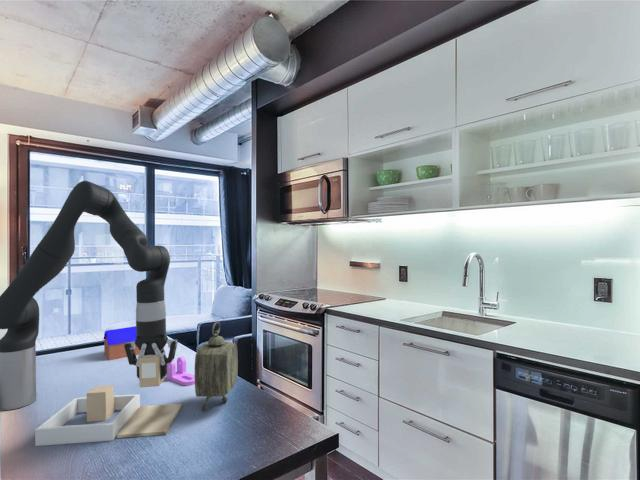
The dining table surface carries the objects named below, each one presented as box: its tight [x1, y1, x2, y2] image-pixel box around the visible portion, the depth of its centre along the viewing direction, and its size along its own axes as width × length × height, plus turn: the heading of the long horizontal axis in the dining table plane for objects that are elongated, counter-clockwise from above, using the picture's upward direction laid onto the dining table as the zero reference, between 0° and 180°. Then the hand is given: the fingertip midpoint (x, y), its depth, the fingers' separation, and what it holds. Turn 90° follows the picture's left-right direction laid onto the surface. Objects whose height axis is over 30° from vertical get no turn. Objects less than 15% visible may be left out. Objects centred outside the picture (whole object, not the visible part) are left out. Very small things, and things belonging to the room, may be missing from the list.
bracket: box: [165, 356, 195, 387], centre depth 130 cm, size 13×6×7 cm, turn 54°
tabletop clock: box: [194, 320, 239, 411], centre depth 112 cm, size 14×9×25 cm, turn 178°
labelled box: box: [138, 354, 166, 388], centre depth 101 cm, size 5×5×8 cm
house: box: [102, 325, 140, 361], centre depth 163 cm, size 12×20×12 cm, turn 130°
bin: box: [34, 393, 141, 447], centre depth 99 cm, size 18×18×4 cm
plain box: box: [86, 384, 115, 423], centre depth 104 cm, size 5×5×8 cm
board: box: [116, 403, 183, 439], centre depth 101 cm, size 12×16×1 cm
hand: (152, 377), depth 101 cm, fingers closed on labelled box, 5 cm apart
